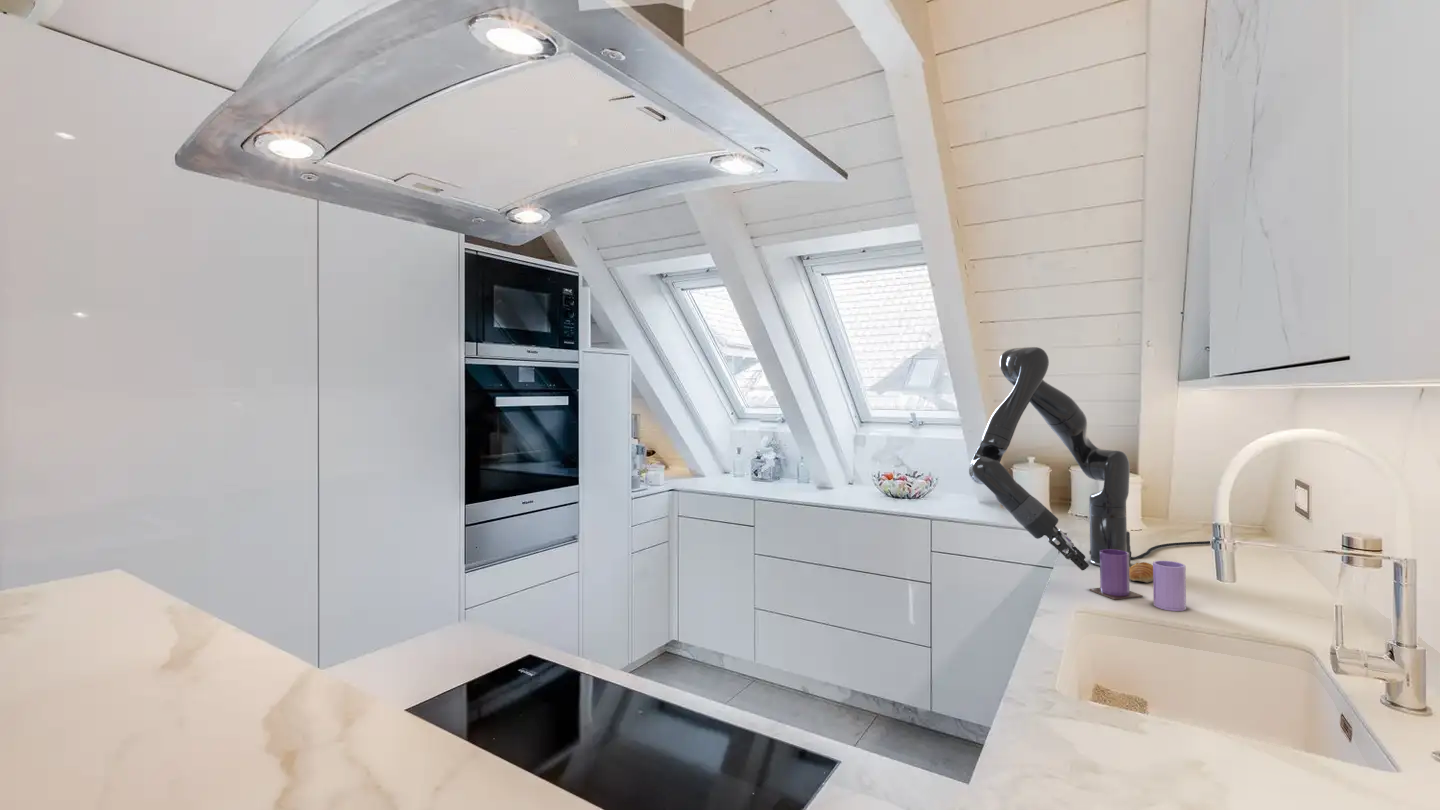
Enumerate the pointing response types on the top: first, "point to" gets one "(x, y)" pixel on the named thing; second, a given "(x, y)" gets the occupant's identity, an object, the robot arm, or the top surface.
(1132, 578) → the pastry
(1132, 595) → the coaster
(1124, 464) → the robot arm
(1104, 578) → the plum cup
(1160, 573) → the lilac cup
